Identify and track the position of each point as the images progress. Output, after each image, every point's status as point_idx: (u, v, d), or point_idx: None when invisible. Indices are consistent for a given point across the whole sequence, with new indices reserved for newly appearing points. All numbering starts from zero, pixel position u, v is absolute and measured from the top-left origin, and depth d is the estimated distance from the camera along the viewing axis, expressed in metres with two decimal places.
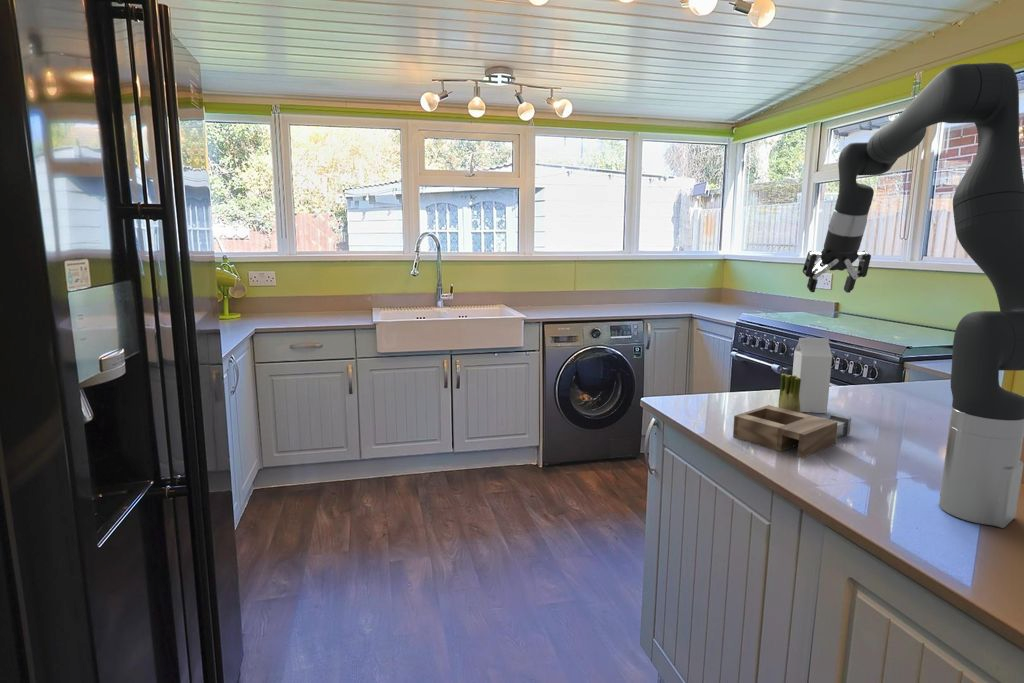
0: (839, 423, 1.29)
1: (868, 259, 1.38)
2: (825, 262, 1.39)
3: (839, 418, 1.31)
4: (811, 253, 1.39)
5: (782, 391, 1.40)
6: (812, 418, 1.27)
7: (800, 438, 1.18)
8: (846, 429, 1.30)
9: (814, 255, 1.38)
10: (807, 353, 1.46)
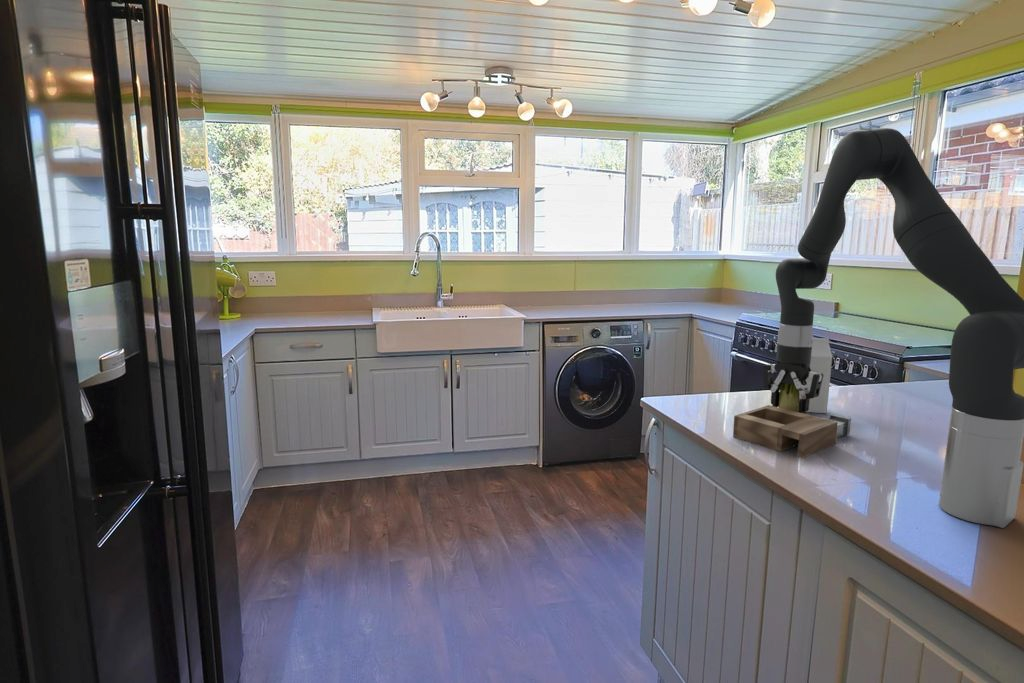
0: (839, 423, 1.29)
1: (815, 380, 1.32)
2: None
3: (839, 418, 1.31)
4: None
5: (782, 391, 1.40)
6: (812, 418, 1.27)
7: (800, 438, 1.18)
8: (846, 429, 1.30)
9: (765, 365, 1.42)
10: None
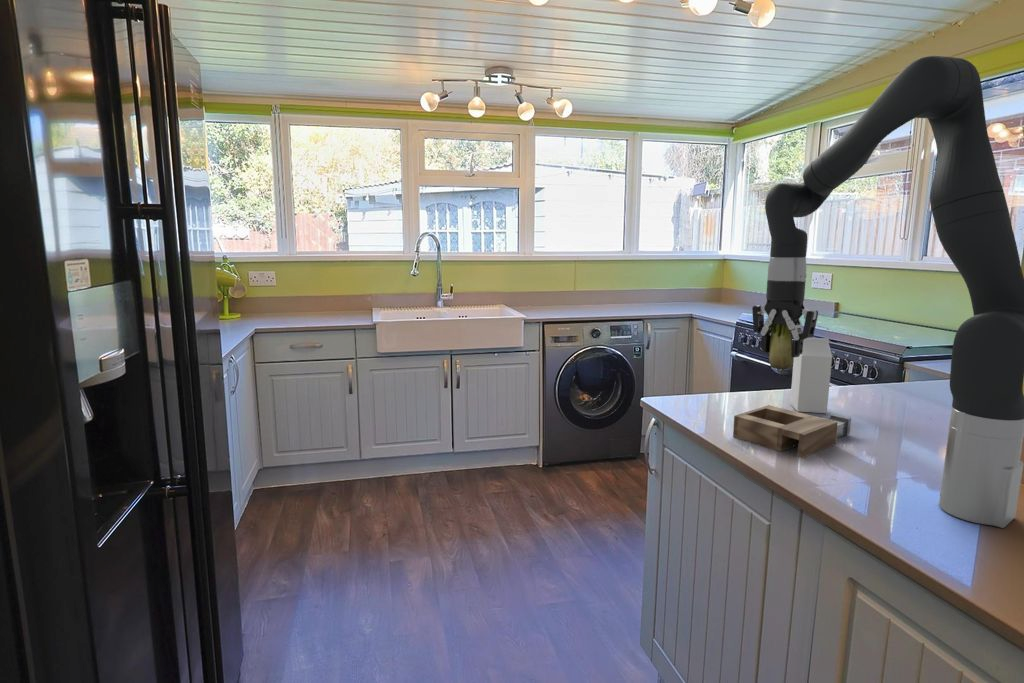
0: (839, 423, 1.29)
1: (809, 317, 1.19)
2: (768, 315, 1.27)
3: (839, 418, 1.31)
4: None
5: (773, 334, 1.27)
6: (812, 418, 1.27)
7: (800, 438, 1.18)
8: (846, 429, 1.30)
9: (754, 307, 1.29)
10: (807, 353, 1.46)
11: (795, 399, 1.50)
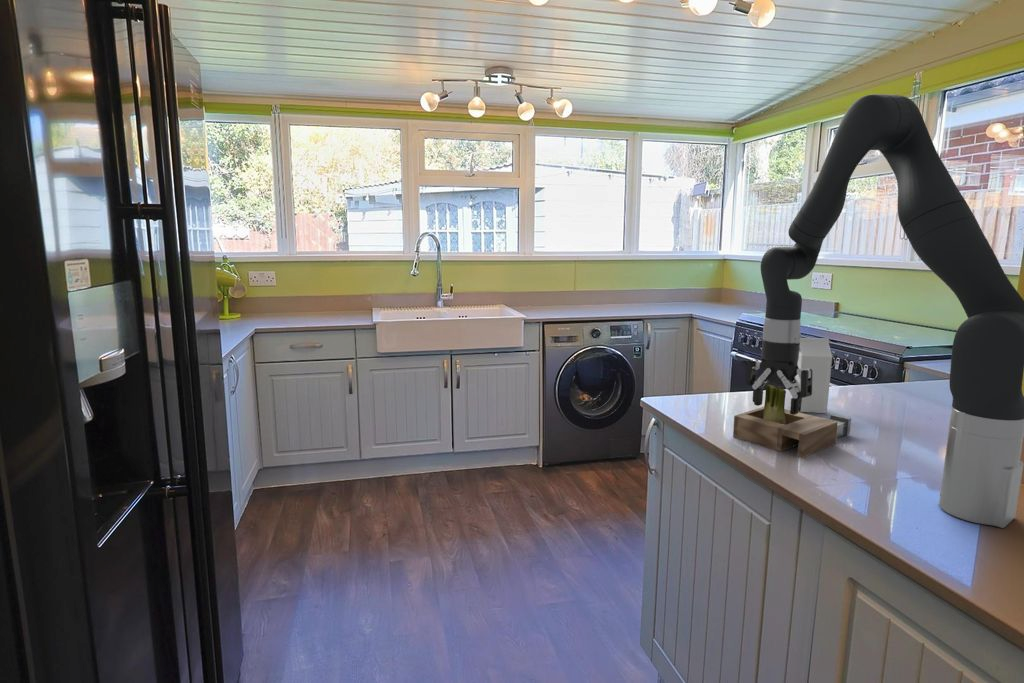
0: (839, 423, 1.29)
1: (804, 376, 1.21)
2: (762, 371, 1.29)
3: (839, 418, 1.31)
4: None
5: (767, 403, 1.30)
6: (812, 418, 1.27)
7: (800, 438, 1.18)
8: (846, 429, 1.30)
9: (750, 361, 1.31)
10: (807, 353, 1.46)
11: None
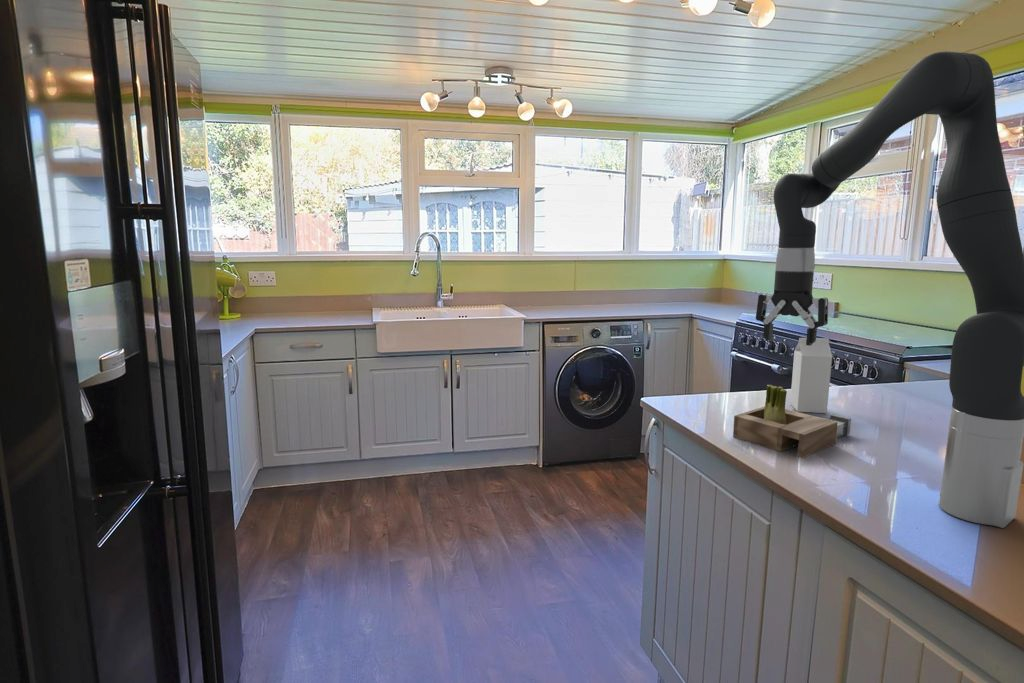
0: (839, 423, 1.29)
1: (822, 304, 1.20)
2: (775, 305, 1.27)
3: (839, 418, 1.31)
4: (761, 294, 1.29)
5: (767, 403, 1.30)
6: (812, 418, 1.27)
7: (800, 438, 1.18)
8: (846, 429, 1.30)
9: (761, 295, 1.28)
10: (807, 353, 1.46)
11: (795, 399, 1.50)
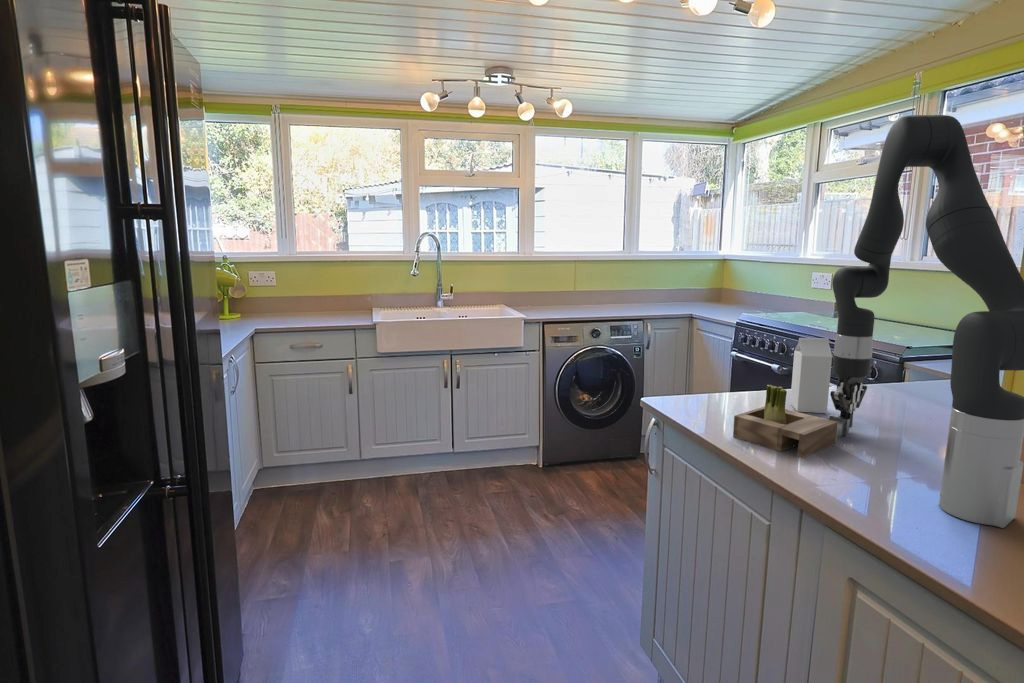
0: (838, 423, 1.29)
1: (865, 391, 1.34)
2: (848, 395, 1.30)
3: (838, 418, 1.31)
4: (836, 394, 1.28)
5: (767, 403, 1.30)
6: (812, 418, 1.27)
7: (800, 438, 1.18)
8: (845, 429, 1.30)
9: (842, 394, 1.27)
10: (807, 353, 1.46)
11: (795, 399, 1.50)
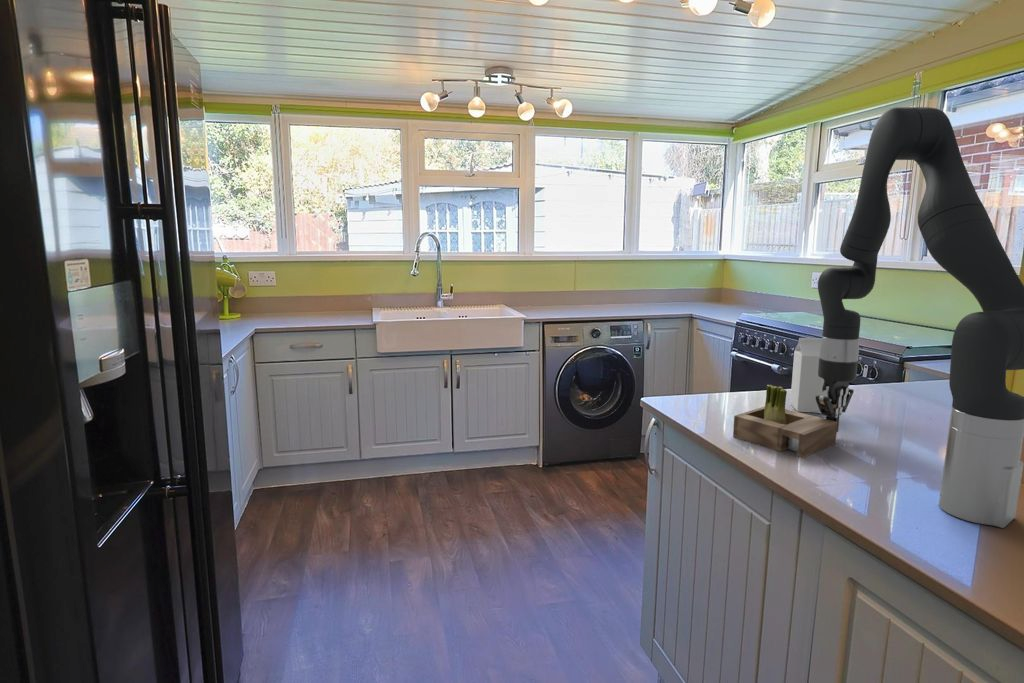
0: None
1: (851, 395, 1.30)
2: (834, 399, 1.26)
3: None
4: (822, 399, 1.24)
5: (767, 403, 1.30)
6: (812, 418, 1.27)
7: (800, 438, 1.18)
8: None
9: (827, 399, 1.24)
10: (807, 353, 1.46)
11: (795, 399, 1.50)
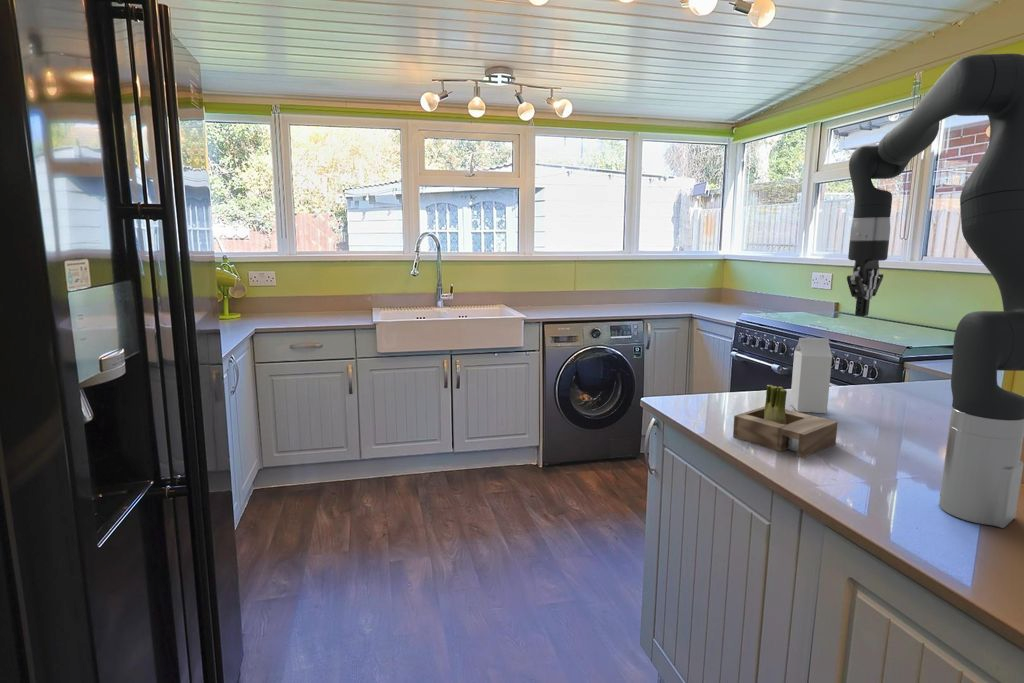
0: None
1: (881, 279, 1.31)
2: (865, 280, 1.27)
3: None
4: (853, 278, 1.25)
5: (767, 403, 1.30)
6: (812, 418, 1.27)
7: (800, 438, 1.18)
8: None
9: (859, 277, 1.25)
10: (807, 353, 1.46)
11: (795, 399, 1.50)
